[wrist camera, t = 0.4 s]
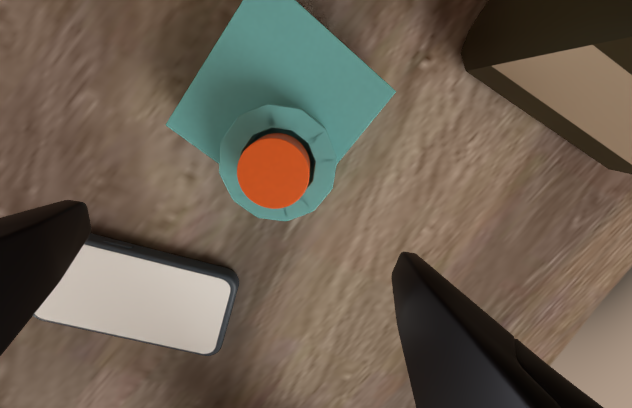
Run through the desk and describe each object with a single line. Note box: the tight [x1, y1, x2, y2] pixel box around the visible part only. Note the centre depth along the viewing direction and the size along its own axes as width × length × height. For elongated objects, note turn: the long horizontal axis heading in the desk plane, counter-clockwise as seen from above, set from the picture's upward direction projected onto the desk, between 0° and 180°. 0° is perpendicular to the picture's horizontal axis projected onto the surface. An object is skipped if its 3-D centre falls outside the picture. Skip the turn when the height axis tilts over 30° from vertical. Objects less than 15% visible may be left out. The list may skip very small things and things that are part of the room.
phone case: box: [33, 233, 239, 356], centre depth 26 cm, size 9×2×16 cm
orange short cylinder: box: [237, 133, 310, 209], centre depth 16 cm, size 4×4×2 cm
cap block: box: [166, 0, 396, 221], centre depth 19 cm, size 11×10×6 cm
